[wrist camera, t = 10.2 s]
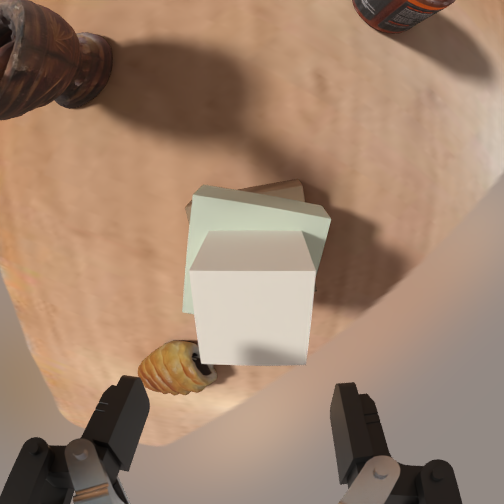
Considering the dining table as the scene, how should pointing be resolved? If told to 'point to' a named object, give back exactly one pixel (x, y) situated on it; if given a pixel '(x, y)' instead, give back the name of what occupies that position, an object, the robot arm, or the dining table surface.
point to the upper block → (250, 222)
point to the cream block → (253, 297)
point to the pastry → (176, 369)
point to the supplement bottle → (397, 12)
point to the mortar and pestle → (47, 60)
